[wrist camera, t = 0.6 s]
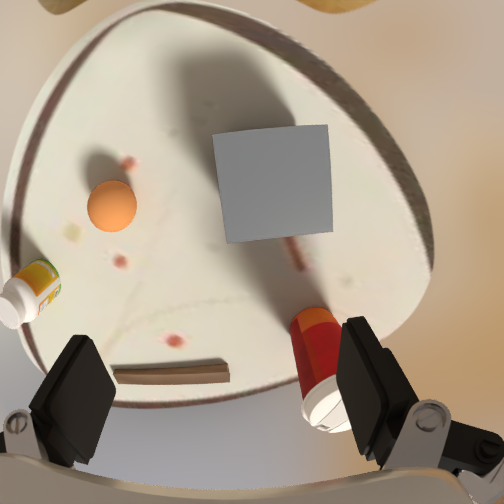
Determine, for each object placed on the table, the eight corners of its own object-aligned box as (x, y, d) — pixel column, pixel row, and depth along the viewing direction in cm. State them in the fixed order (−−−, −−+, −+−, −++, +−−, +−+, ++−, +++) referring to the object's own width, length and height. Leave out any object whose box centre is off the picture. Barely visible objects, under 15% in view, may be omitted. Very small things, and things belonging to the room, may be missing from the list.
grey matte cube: (220, 133, 26) (211, 134, 18) (301, 126, 26) (327, 124, 18) (230, 211, 29) (227, 243, 21) (307, 202, 29) (332, 231, 21)
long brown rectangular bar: (117, 362, 37) (112, 374, 35) (227, 358, 37) (227, 371, 35) (122, 371, 38) (118, 383, 35) (230, 368, 38) (229, 382, 35)
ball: (96, 181, 27) (73, 191, 23) (138, 172, 27) (119, 180, 23) (106, 226, 29) (86, 243, 25) (147, 219, 29) (131, 235, 25)
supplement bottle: (29, 256, 30) (-16, 288, 21) (59, 257, 31) (15, 292, 21) (37, 293, 32) (-2, 331, 23) (67, 296, 32) (30, 338, 23)
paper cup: (311, 358, 37) (340, 442, 24) (267, 331, 35) (285, 422, 22) (353, 318, 35) (402, 395, 22) (313, 285, 33) (357, 365, 20)
